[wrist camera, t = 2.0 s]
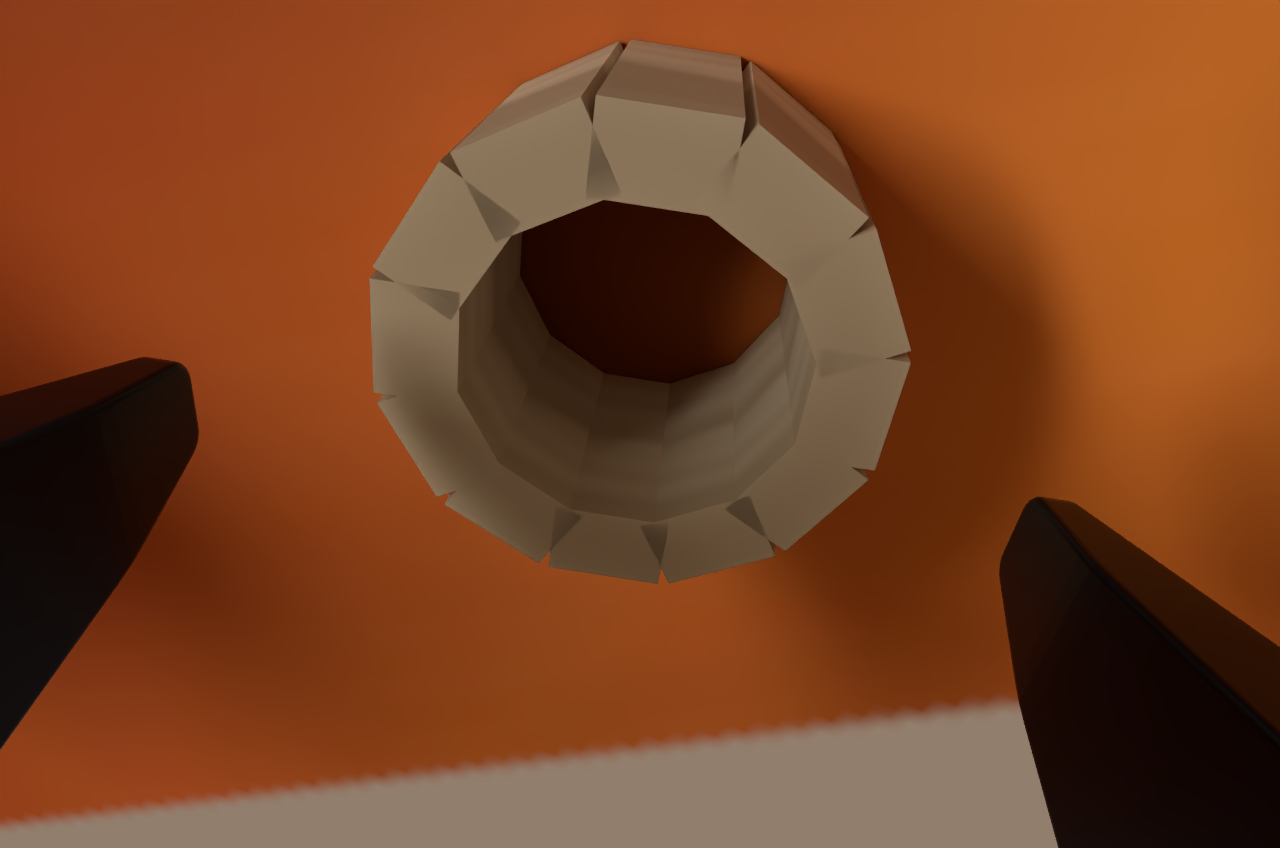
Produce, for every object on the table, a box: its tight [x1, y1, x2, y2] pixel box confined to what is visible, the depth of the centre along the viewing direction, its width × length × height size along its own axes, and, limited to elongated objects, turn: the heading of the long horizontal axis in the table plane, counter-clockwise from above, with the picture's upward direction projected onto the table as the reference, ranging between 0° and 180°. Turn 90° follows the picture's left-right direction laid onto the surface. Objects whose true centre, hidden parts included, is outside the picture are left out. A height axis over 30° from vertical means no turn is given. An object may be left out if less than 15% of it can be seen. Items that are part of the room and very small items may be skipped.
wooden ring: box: [370, 39, 911, 584], centre depth 13 cm, size 7×7×4 cm
